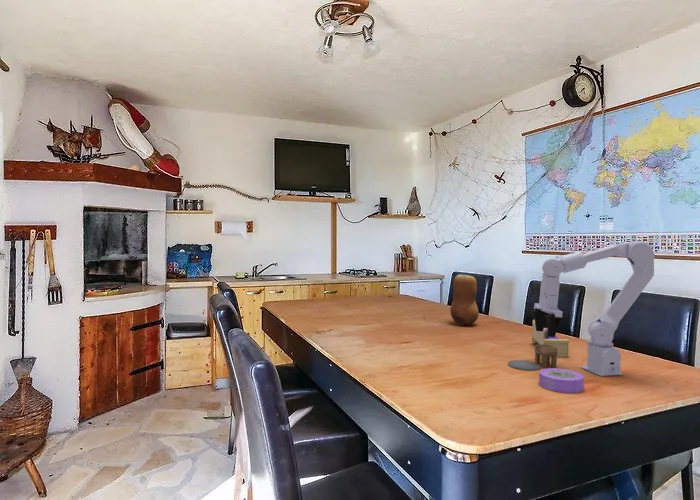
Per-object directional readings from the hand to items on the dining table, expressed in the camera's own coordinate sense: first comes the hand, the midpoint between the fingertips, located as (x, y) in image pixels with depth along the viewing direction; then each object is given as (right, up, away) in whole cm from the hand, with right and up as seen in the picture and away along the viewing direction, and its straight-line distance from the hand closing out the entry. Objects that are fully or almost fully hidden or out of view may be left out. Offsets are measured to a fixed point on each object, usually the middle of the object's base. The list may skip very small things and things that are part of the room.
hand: (545, 333), depth 150 cm
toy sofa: (+10, -11, +20) cm, 25 cm away
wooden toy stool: (0, -11, -1) cm, 11 cm away
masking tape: (-5, -12, -21) cm, 25 cm away
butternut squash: (-10, -9, +69) cm, 70 cm away
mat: (-8, -11, -2) cm, 13 cm away
